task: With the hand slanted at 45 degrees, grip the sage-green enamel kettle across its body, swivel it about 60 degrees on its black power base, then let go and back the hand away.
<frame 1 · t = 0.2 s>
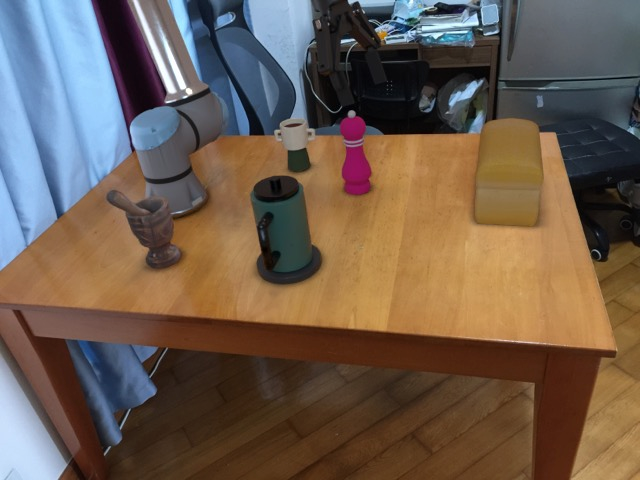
hand: (365, 93, 109), 28 cm above the table, tool tilted 20°, fingers open, 13 cm apart
mortar and pestle: (160, 264, 116), on the table
character mug: (299, 169, 148), on the table
kettle: (279, 222, 104), point 11 cm above the table, hinge at 0.0°
kettle base: (289, 264, 110), on the table
pepper mill: (357, 189, 134), on the table
bread: (505, 197, 123), on the table
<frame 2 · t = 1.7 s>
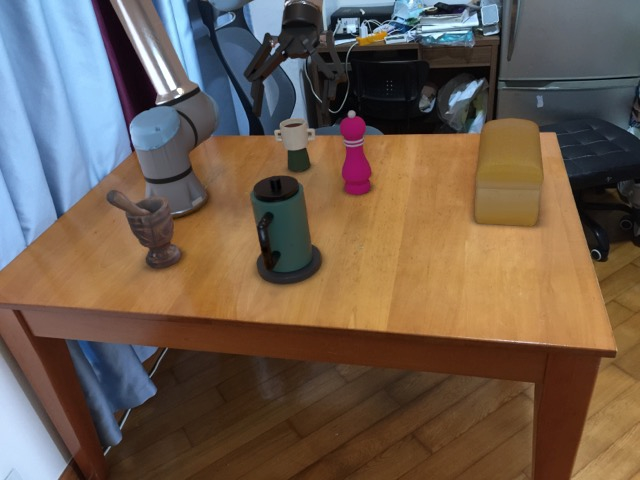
hand: (289, 115, 104), 27 cm above the table, tool tilted 45°, fingers open, 13 cm apart
nothing on the table moved.
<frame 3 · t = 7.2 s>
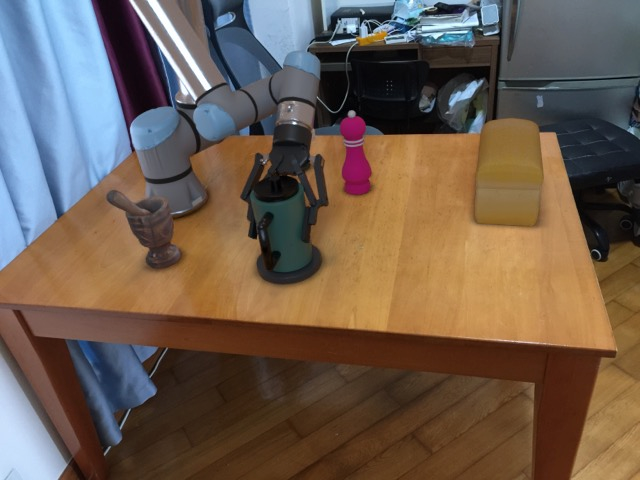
hand: (278, 239, 104), 8 cm above the table, tool tilted 45°, fingers closed on kettle, 10 cm apart
kettle: (279, 222, 104), point 11 cm above the table, hinge at 0.1°, touching gripper
everything else where it was.
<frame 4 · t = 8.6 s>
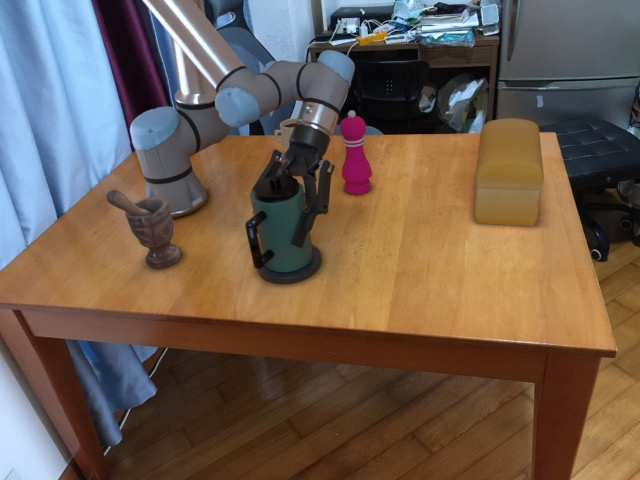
hand: (274, 238, 104), 8 cm above the table, tool tilted 45°, fingers closed on kettle, 10 cm apart
kettle: (278, 221, 104), point 11 cm above the table, hinge at -15.1°, touching gripper
everything else where it was.
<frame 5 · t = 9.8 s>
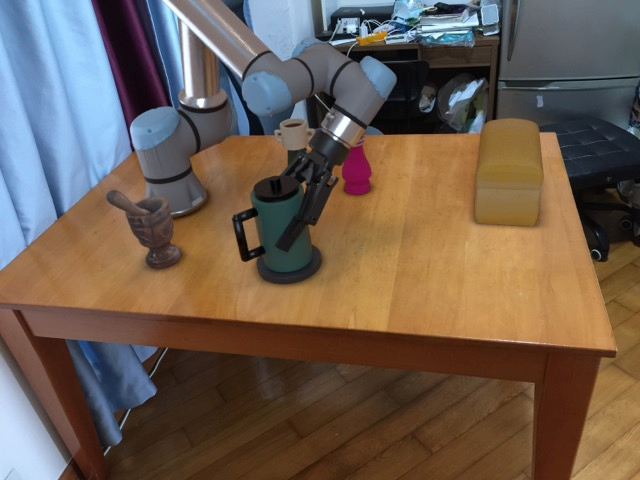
hand: (271, 235, 105), 8 cm above the table, tool tilted 45°, fingers closed on kettle, 10 cm apart
kettle: (277, 221, 104), point 11 cm above the table, hinge at -40.4°, touching gripper
everything else where it was.
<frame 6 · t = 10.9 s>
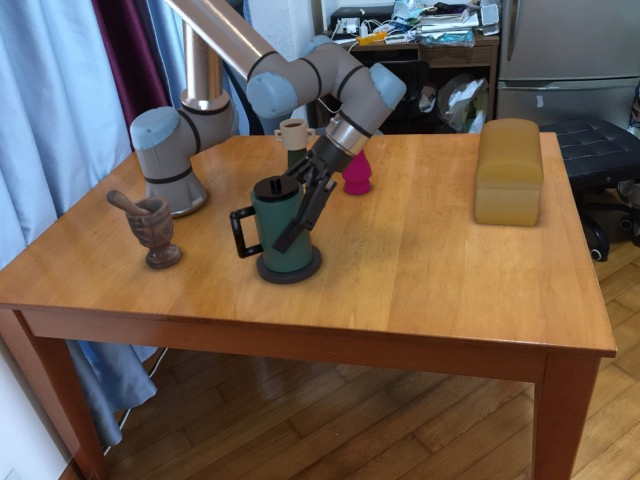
hand: (271, 231, 105), 8 cm above the table, tool tilted 45°, fingers open, 13 cm apart
kettle: (276, 220, 104), point 11 cm above the table, hinge at -49.4°
everything else where it was.
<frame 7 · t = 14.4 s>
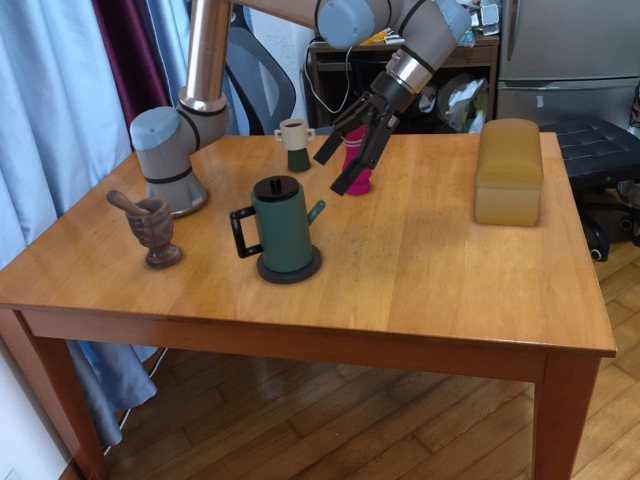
hand: (326, 176, 102), 18 cm above the table, tool tilted 45°, fingers open, 13 cm apart
nothing on the table moved.
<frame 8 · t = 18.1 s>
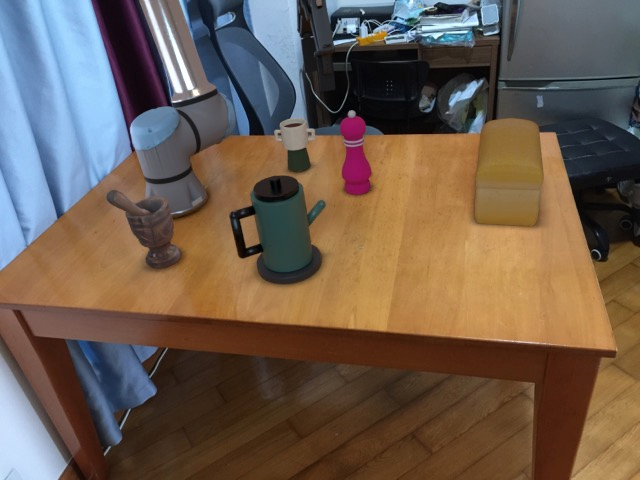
hand: (319, 80, 106), 32 cm above the table, tool pointing down, fingers open, 13 cm apart
nothing on the table moved.
at the end: kettle at -49° (first picture: +0°); the gripper is holding nothing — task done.
